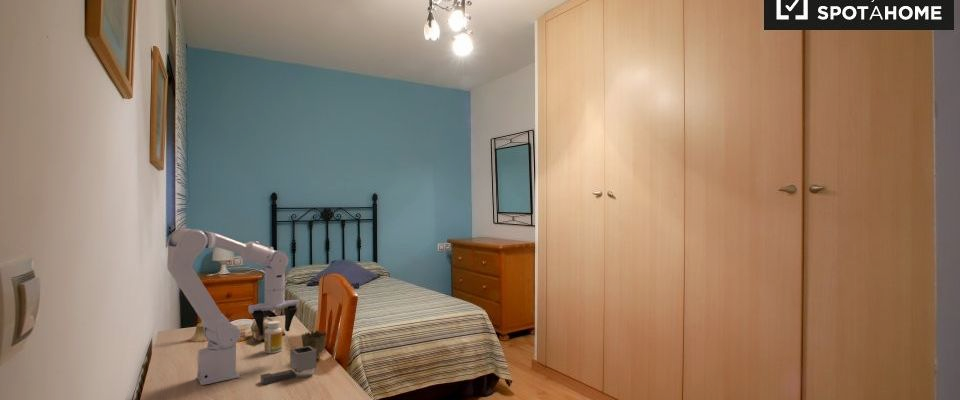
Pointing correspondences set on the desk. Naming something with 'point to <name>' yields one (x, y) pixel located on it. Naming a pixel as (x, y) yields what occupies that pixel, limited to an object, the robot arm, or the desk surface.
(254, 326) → the ceramic sculpture
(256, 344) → the desk surface
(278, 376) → the ratchet
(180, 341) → the desk surface
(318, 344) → the cup
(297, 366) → the dark-topped grey cube
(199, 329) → the hand bell
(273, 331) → the supplement bottle
